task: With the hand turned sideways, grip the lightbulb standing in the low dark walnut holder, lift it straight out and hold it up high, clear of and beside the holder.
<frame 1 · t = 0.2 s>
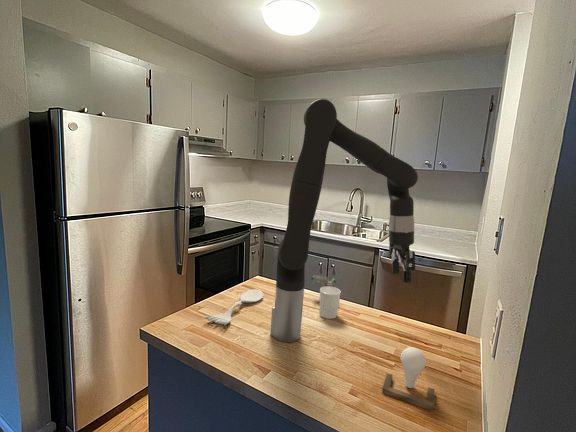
hand: (401, 277, 101), 22 cm above the worktop, tool pointing down, fingers open, 8 cm apart
mechanical component: (321, 299, 134), on the worktop
white cup: (327, 315, 120), on the worktop
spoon: (238, 310, 119), on the worktop
walnut holder: (409, 387, 82), on the worktop
lightbulb: (408, 387, 82), on the worktop
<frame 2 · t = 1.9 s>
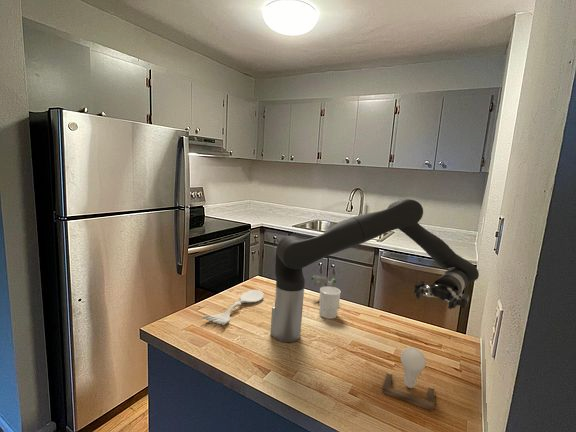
hand: (433, 300, 87), 21 cm above the worktop, tool horizontal, fingers open, 8 cm apart
nothing on the worktop moved.
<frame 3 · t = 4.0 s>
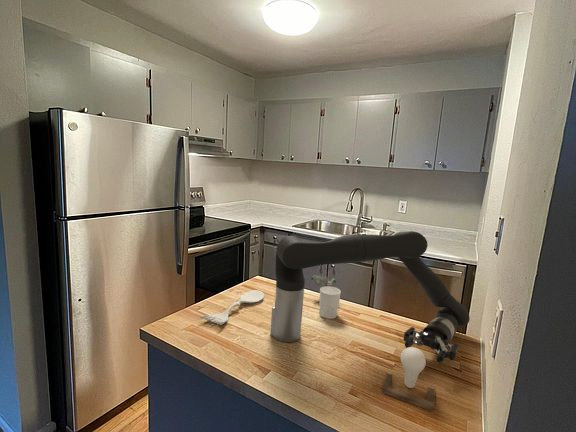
hand: (422, 352, 88), 6 cm above the worktop, tool horizontal, fingers open, 8 cm apart
nothing on the worktop moved.
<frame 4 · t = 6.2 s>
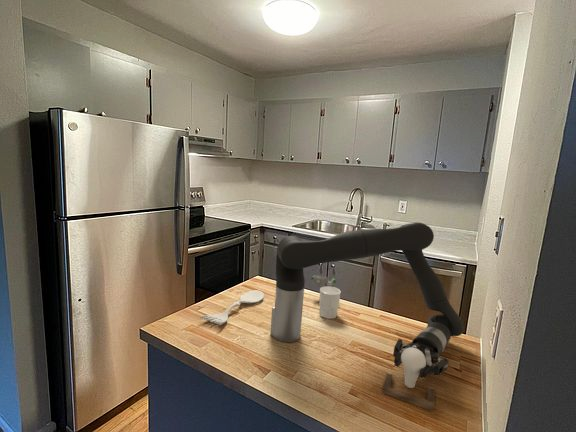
hand: (408, 368, 80), 7 cm above the worktop, tool horizontal, fingers closed on lightbulb, 5 cm apart
lightbulb: (408, 387, 82), on the worktop, touching gripper
everything else where it was.
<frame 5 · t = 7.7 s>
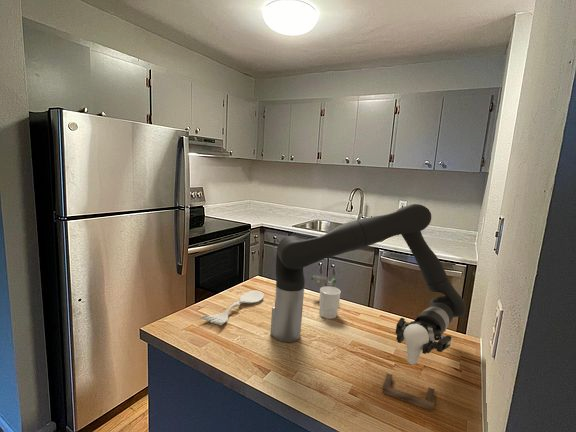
hand: (411, 344, 78), 13 cm above the worktop, tool horizontal, fingers closed on lightbulb, 5 cm apart
lightbulb: (411, 364, 81), point 7 cm above the worktop, touching gripper
everything else where it was.
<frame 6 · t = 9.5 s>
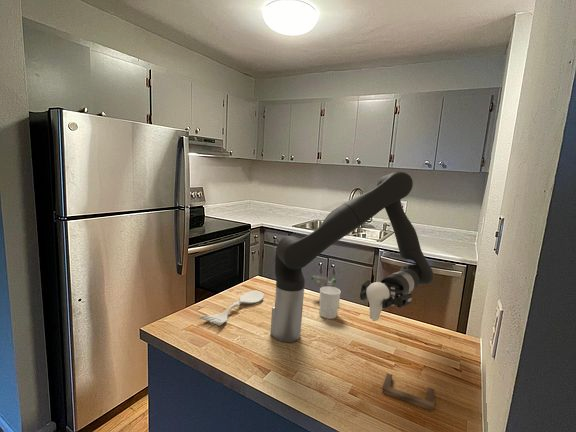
hand: (372, 300, 83), 22 cm above the worktop, tool horizontal, fingers closed on lightbulb, 5 cm apart
lightbulb: (373, 321, 86), point 15 cm above the worktop, touching gripper
everything else where it was.
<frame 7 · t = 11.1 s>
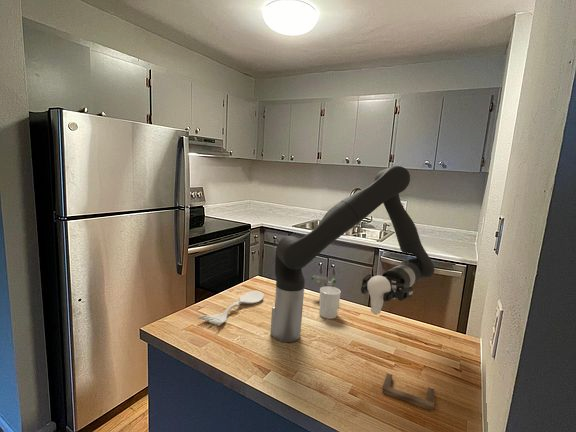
hand: (373, 294, 82), 24 cm above the worktop, tool horizontal, fingers closed on lightbulb, 5 cm apart
lightbulb: (375, 314, 85), point 17 cm above the worktop, touching gripper
everything else where it was.
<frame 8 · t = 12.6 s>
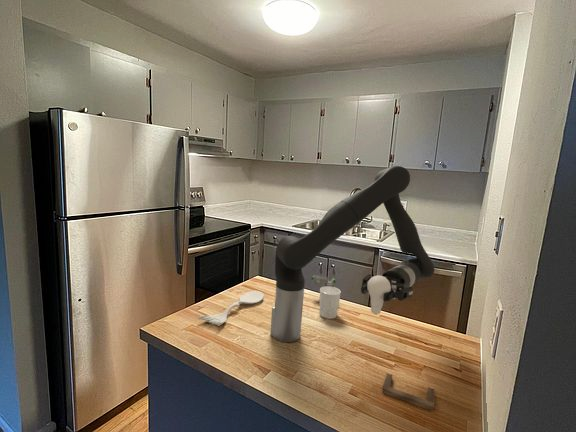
hand: (373, 294, 82), 24 cm above the worktop, tool horizontal, fingers closed on lightbulb, 5 cm apart
lightbulb: (375, 314, 85), point 17 cm above the worktop, touching gripper
at the end: the gripper is holding lightbulb; lightbulb point 17.0 cm above the worktop; lightbulb moved 20.2 cm from its start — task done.
